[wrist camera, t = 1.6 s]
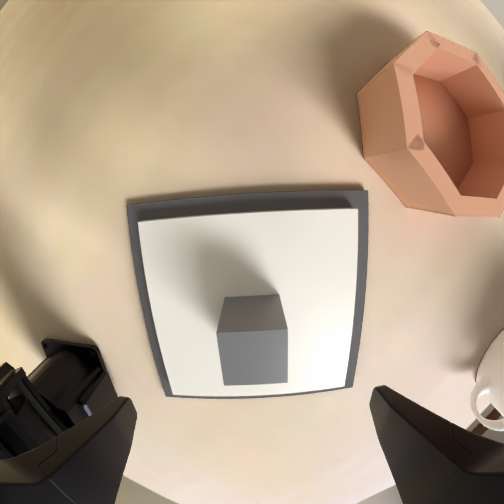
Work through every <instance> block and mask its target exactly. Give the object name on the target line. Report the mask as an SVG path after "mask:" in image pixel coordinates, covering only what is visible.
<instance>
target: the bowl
mask: <svg viewBox="0 0 504 504" xmlns="http://www.w3.org/2000/svg"><path fill="white" fill-rule="evenodd" d="M357 99H358V107H359V115H360V123H361V132H362V143H363V156H364V159H365V160H366V161H367V162H368V163H369V164H370V166H371V167H372V168H373V169H374V170H375V171H376V172H377V173H378V174H379V176H380V177H381V178H382V179H383V180H384V181H385V182H386V184H387V185H388V186H389V187H390V188H391V190H392V191H393V192H394V193H395V194H396V196H397V197H398V198H399V199H400V201H401V202H402V203H403V204H404V206H405V207H407V208H413V209H418V210H424V211H429V212H435V213H440V214H445V215H450V216H455V217H456V216H478V217H500V216H501V214H502V212H503V210H504V92H503V90H502V89H501V87H500V86H499V84H498V82H497V81H496V79H495V78H494V76H493V75H492V74H491V72H490V71H489V69H488V68H487V66H486V65H485V64H484V62H483V61H482V60H481V58H480V57H479V56H478V54H477V53H475V52H473V51H471V50H469V49H467V48H465V47H463V46H461V45H459V44H457V43H455V42H452V41H450V40H448V39H446V38H443V37H441V36H438V35H436V34H433V33H431V32H428V31H426V32H425V33H423V34H422V35H421V36H419V37H418V38H417V39H416V40H414V41H413V42H412V43H411V44H410V45H408V46H407V47H406V48H405V49H403V50H402V51H401V52H400V53H399V54H397V55H396V56H395V57H394V58H393V59H391V60H390V61H389V62H388V63H387V64H386V65H385V66H384V67H383V68H382V69H381V70H380V71H379V72H378V73H377V74H376V75H375V76H374V77H373V78H372V79H371V80H370V81H369V82H368V83H367V84H366V85H365V86H364V87H363V88H362V89H361V90H360V91H359V92H357Z"/></svg>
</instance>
